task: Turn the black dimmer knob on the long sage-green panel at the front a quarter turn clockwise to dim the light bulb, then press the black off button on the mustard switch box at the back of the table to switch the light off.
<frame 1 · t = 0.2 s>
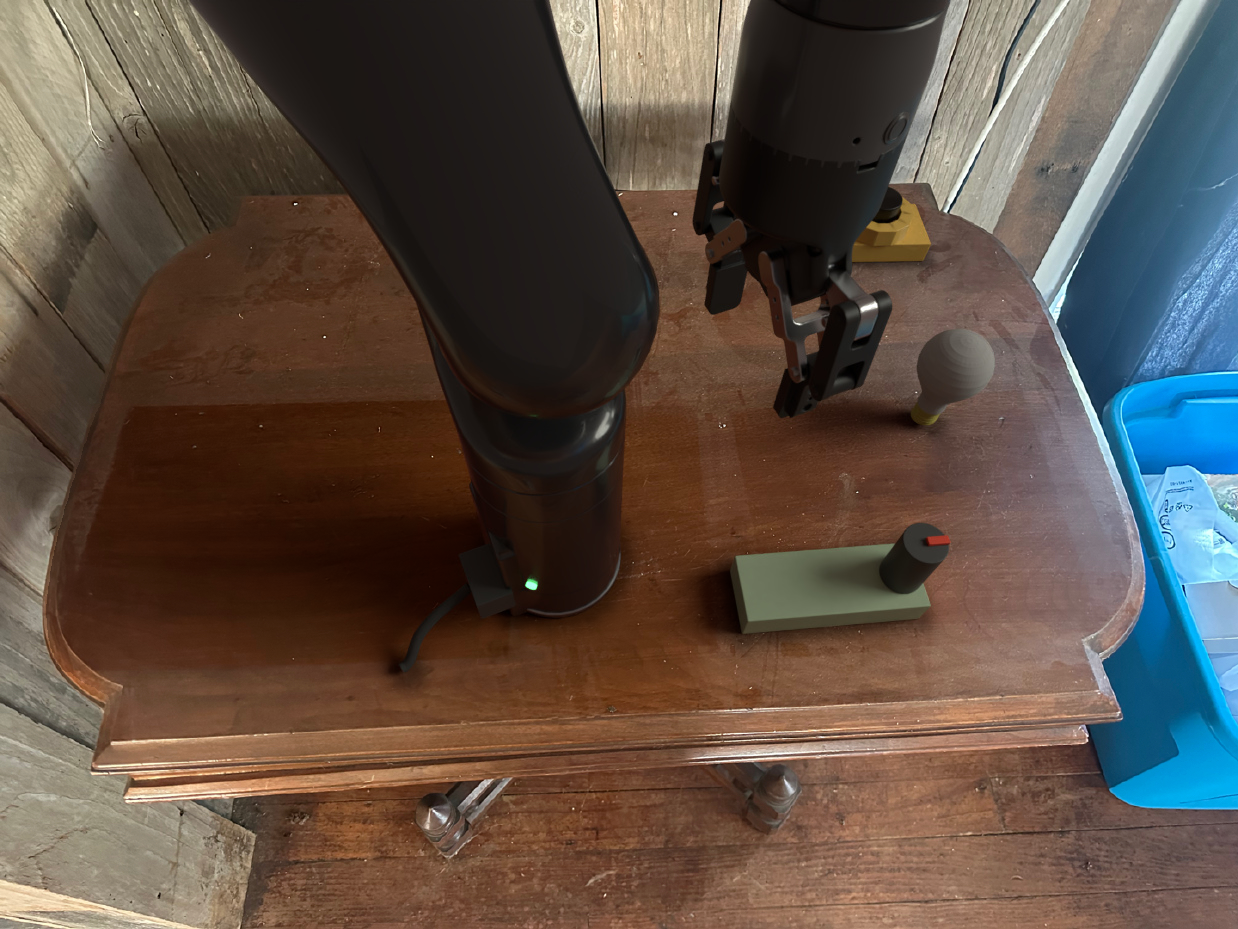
hand: (755, 356, 45), 17 cm above the table, tool pointing down, fingers open, 8 cm apart
off button: (881, 204, 72), point 4 cm above the table, slide at 0.1 cm
dimmer panel: (822, 594, 55), on the table
light bulb: (920, 421, 64), on the table
dimmer knob: (913, 558, 51), point 5 cm above the table, hinge at 0.0°
switch box: (867, 241, 76), on the table
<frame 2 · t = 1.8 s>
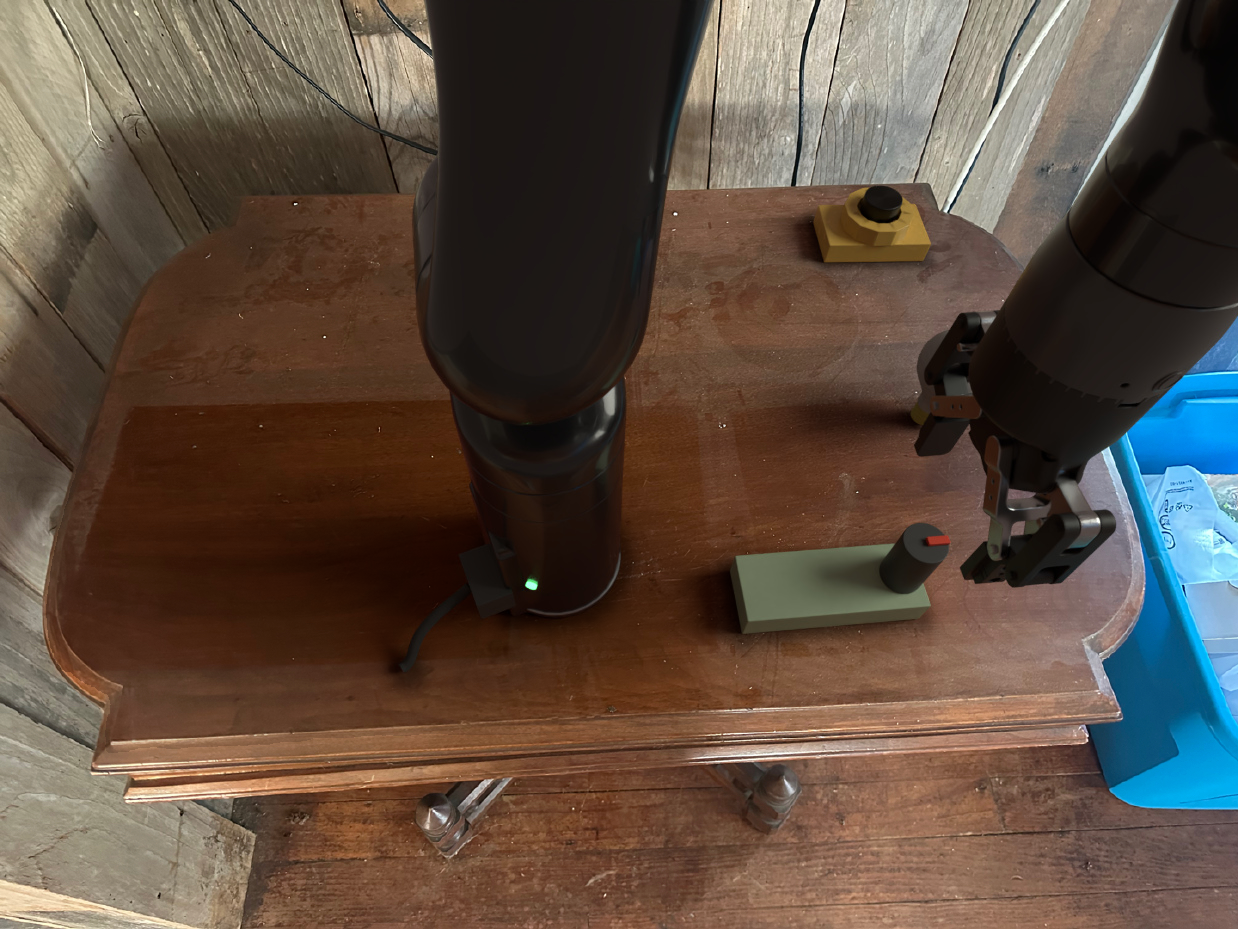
hand: (952, 509, 46), 12 cm above the table, tool pointing down, fingers open, 8 cm apart
nothing on the table moved.
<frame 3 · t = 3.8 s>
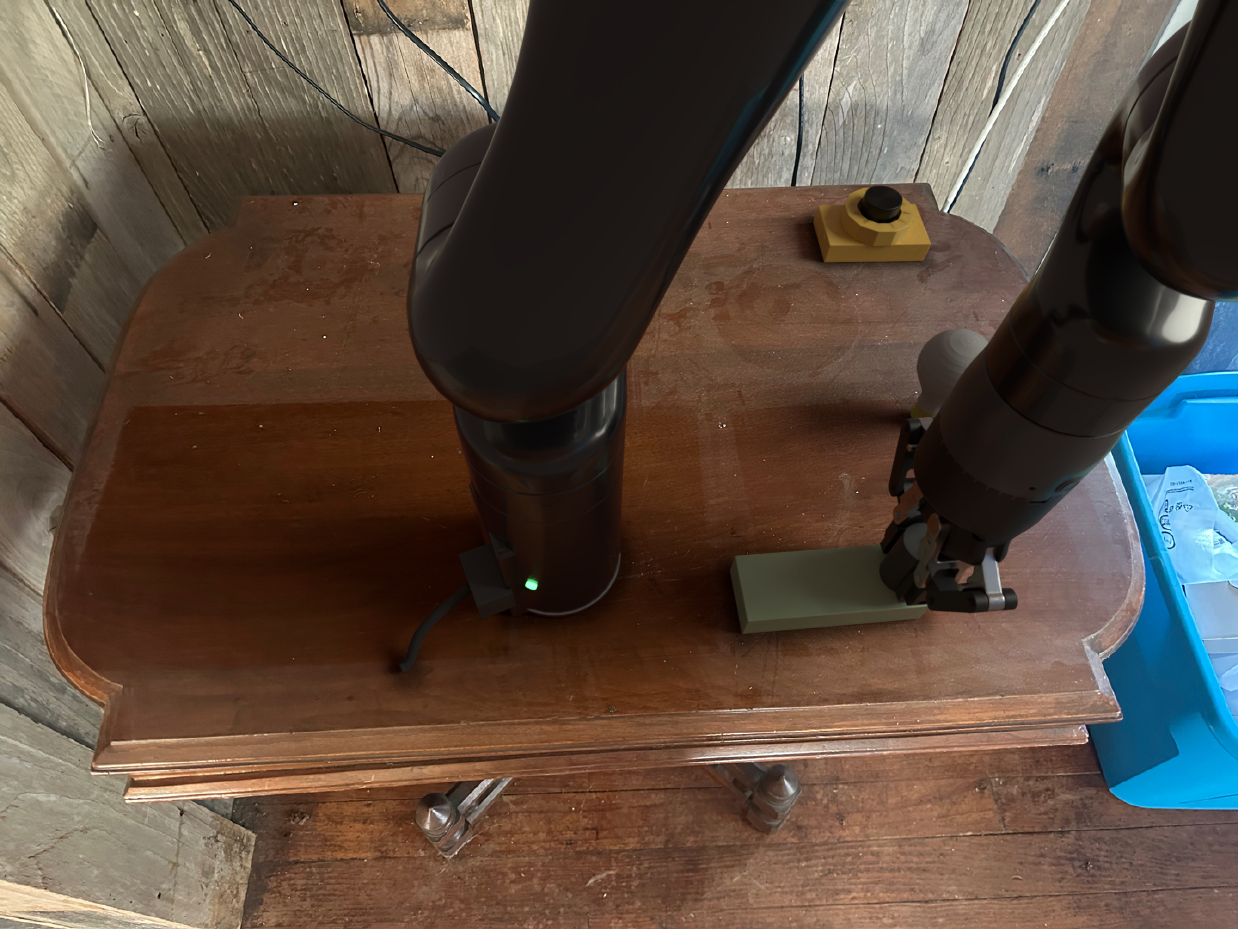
hand: (902, 572, 53), 3 cm above the table, tool pointing down, fingers closed on dimmer knob, 3 cm apart
dimmer knob: (913, 558, 51), point 5 cm above the table, hinge at 0.4°, touching gripper
everything else where it was.
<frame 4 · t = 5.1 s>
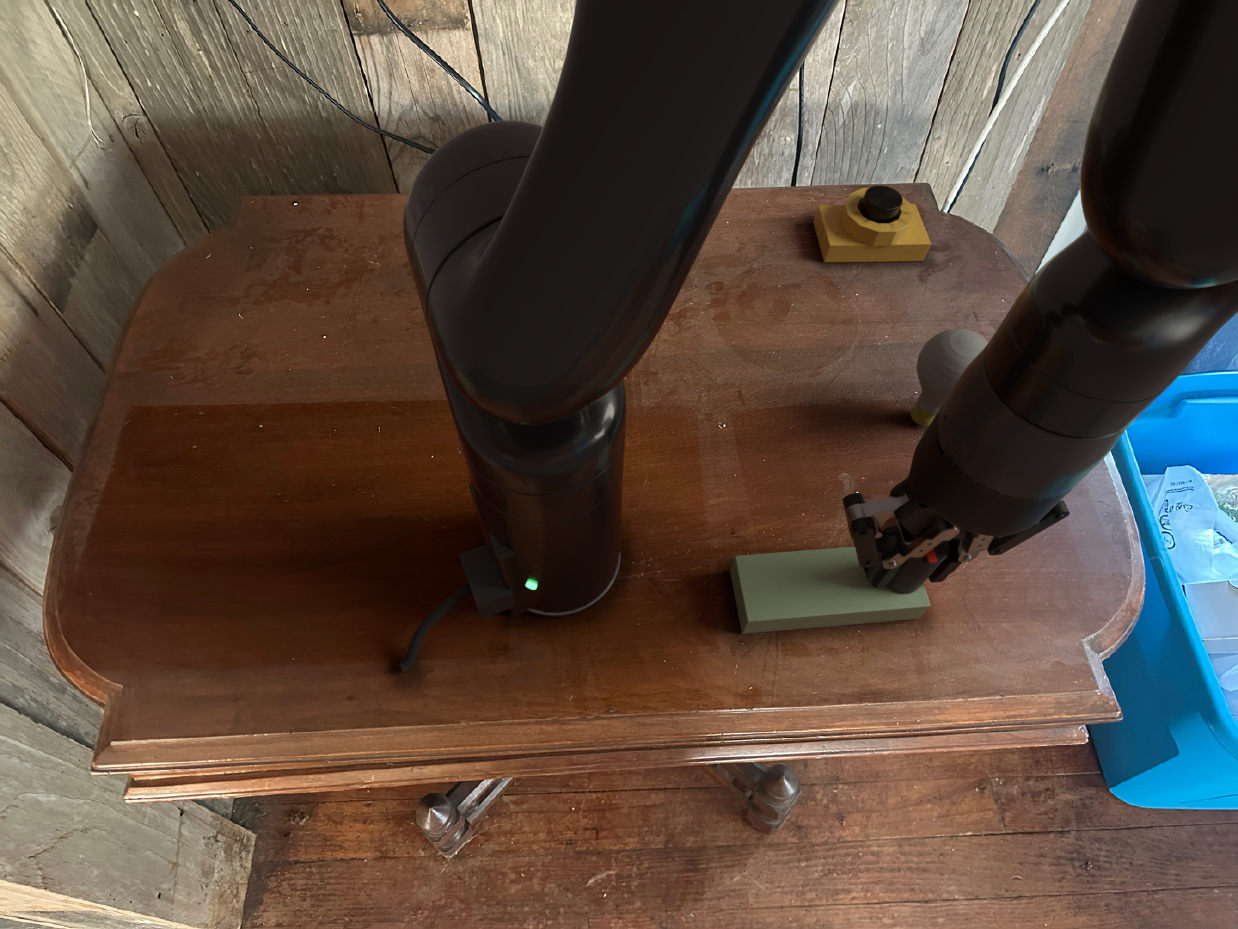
hand: (902, 572, 53), 3 cm above the table, tool pointing down, fingers open, 3 cm apart
dimmer knob: (913, 558, 51), point 5 cm above the table, hinge at -93.8°
everything else where it was.
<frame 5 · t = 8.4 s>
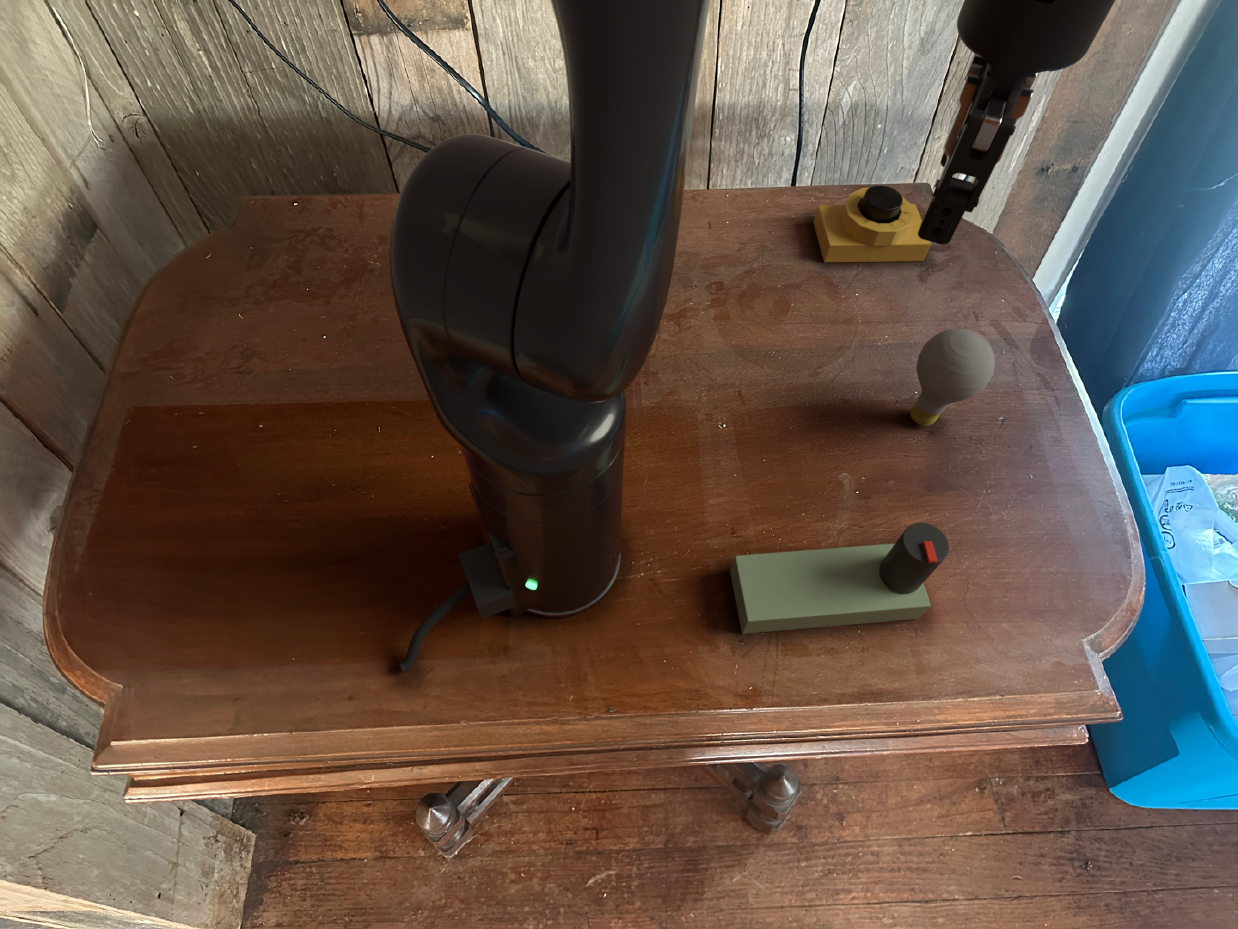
hand: (943, 201, 54), 16 cm above the table, tool pointing down, fingers open, 8 cm apart
nothing on the table moved.
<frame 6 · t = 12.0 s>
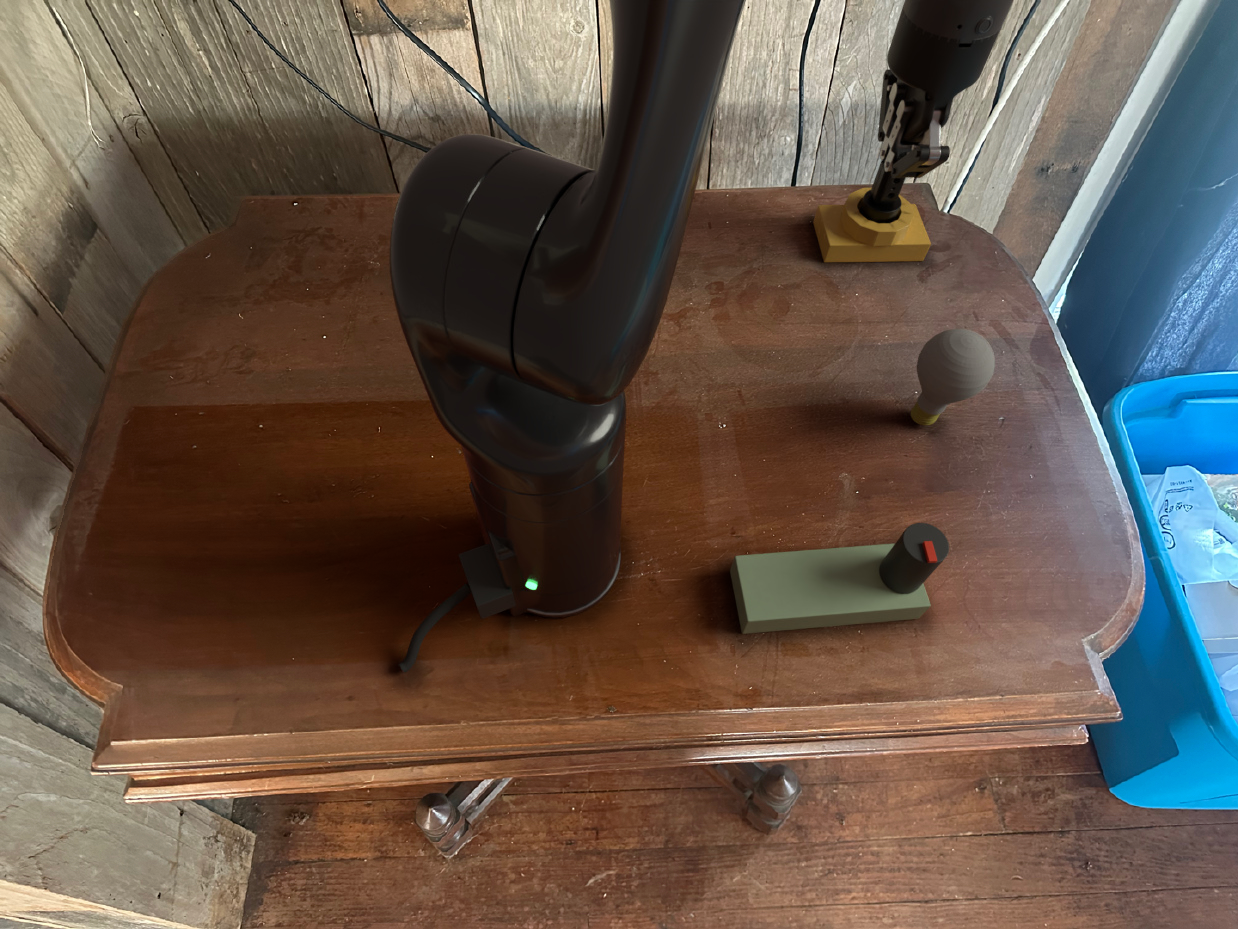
hand: (882, 198, 72), 5 cm above the table, tool pointing down, fingers closed
off button: (880, 207, 72), point 4 cm above the table, slide at -0.2 cm, touching gripper
everything else where it was.
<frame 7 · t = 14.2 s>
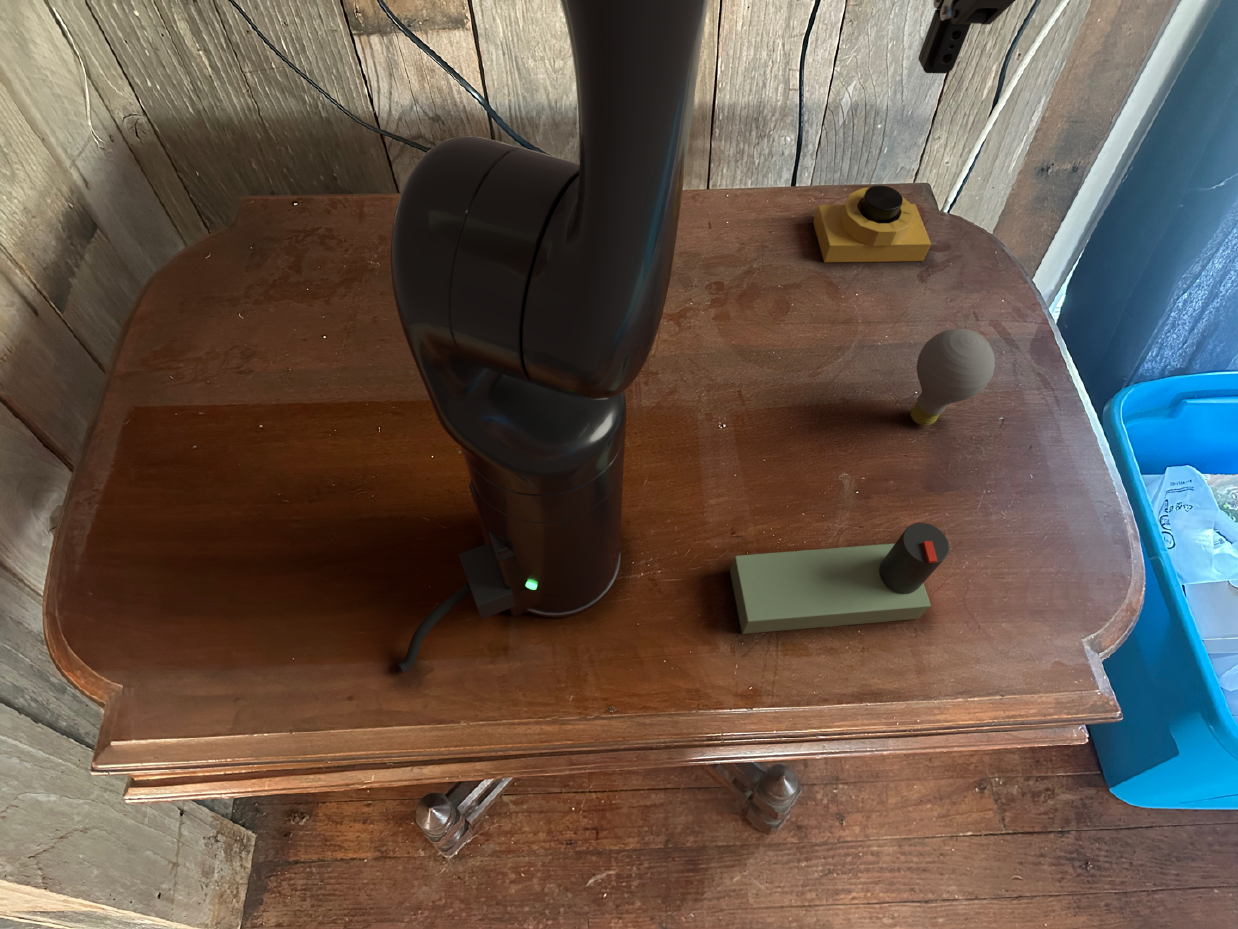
hand: (933, 67, 55), 21 cm above the table, tool pointing down, fingers closed
off button: (881, 204, 72), point 4 cm above the table, slide at 0.1 cm
everything else where it was.
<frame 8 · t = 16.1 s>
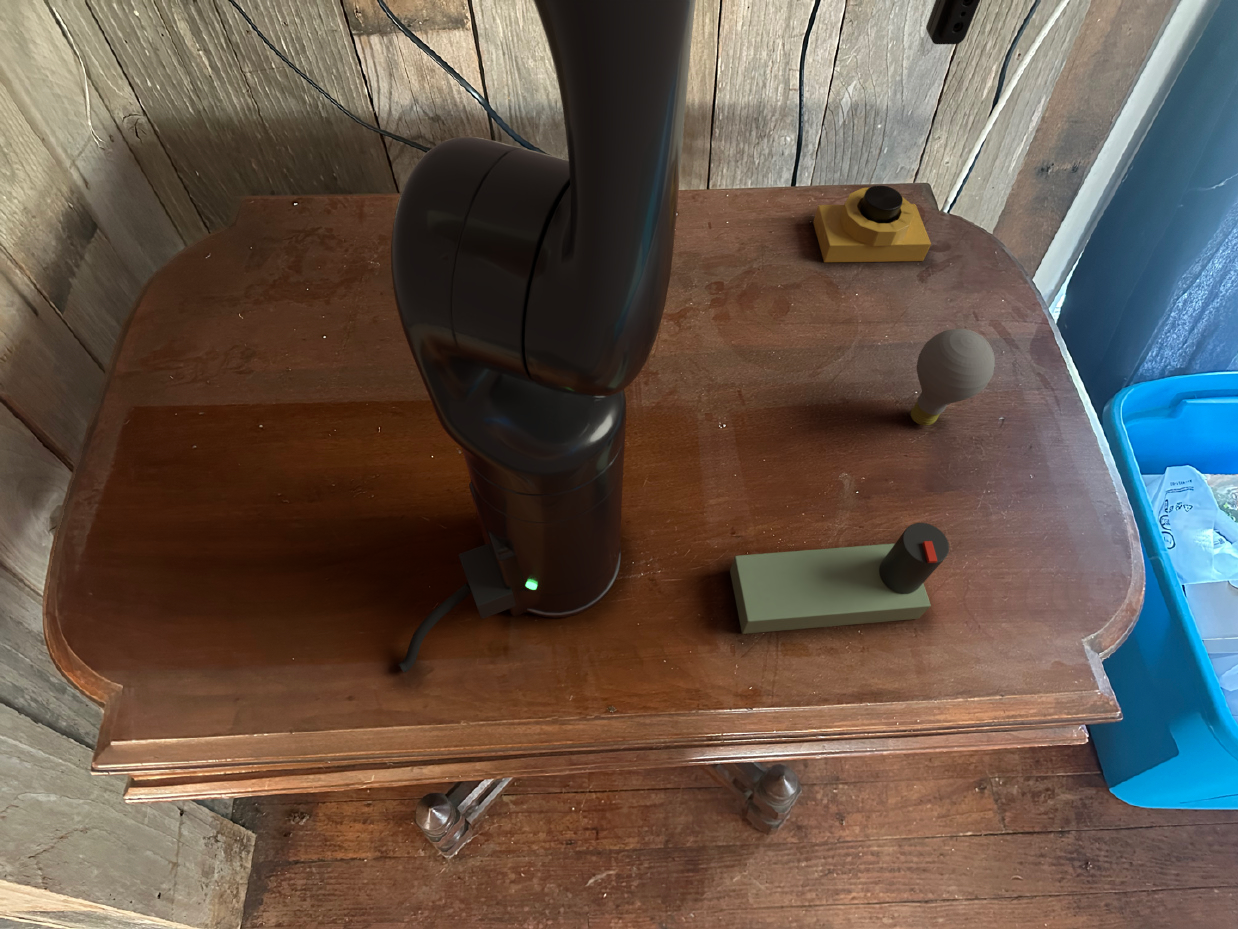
hand: (943, 38, 50), 25 cm above the table, tool pointing down, fingers closed
nothing on the table moved.
at the end: dimmer knob at -94° (first picture: +0°); off button pushed in 1.1 cm at the most during the clip, back to where it started at the end; off button slide at 0.1 cm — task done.
